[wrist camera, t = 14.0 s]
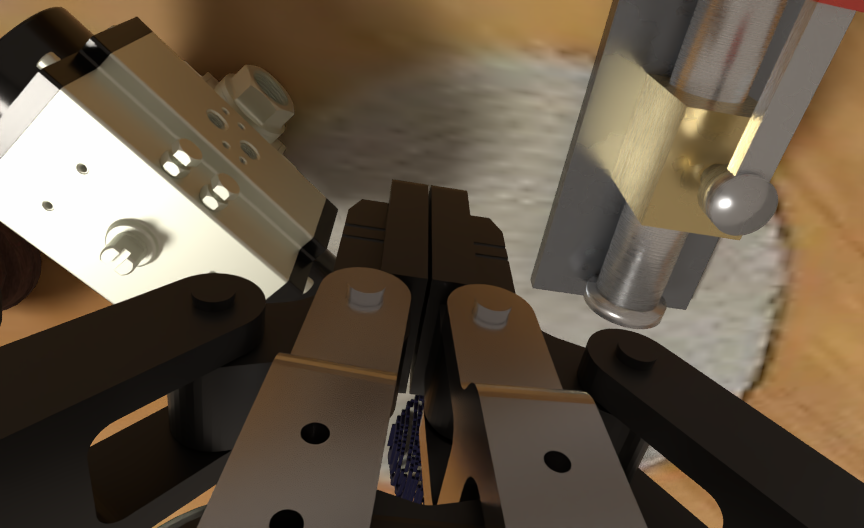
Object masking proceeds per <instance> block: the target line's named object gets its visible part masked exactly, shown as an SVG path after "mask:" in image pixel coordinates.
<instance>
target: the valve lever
mask: <svg viewBox="0 0 864 528" xmlns="http://www.w3.org/2000/svg"><path fill="white" fill-rule="evenodd" d="M856 11H859V12H864V0H805V2H804V4H803V6H802V9H801V11H800V13H799V15H798V17H797V19H796V21H795V24H794V26H793V28H792V30H791V32H790V34H789V36H788V39H787V41H786V43H785V45H784V47H783V49H782V52H781V54H780V56H779V58H778V60H777V62H776V64H775V67H774V69H773V71H772V73H771V75H770V77H769V79H768V82H767V84H766V86H765V88H764V90H763V92H762V94H761V97H760V99H759V101H758V103H757V105H756V107H755V109H754V112H753V114H752V116H751V118H750V120H749V122H748V124H747V127H746V129H745V131H744V133H743V135H742V137H741V139H740V142H739V144H738V146H737V148H736V150H735V152H734V154H733V157H732V159H731V161H730V163H727V164H724V165H721V166H719V167H717V168H715V169H714V170H712V171H711V172H710V173H709V174H708V175H707V176H706V177H705V178H704V179H703V181H702V182H701V184H700V186H699V189H698V194H697V200H698V204H699V206H700V208H701V210H702V211H703V212H704V213H705V214H706V215H707V217H708V218H709V219H710V220H711V221H712V222H713V224H714V225H715V226H716V227H717V228H718V229H719V230H720V231H721V232H723V233H725V234H728V235H733V236H740V235H746V234H749V233H752V232H754V231H756V230H758V229H760V228H761V227H763V226H764V225H765V224H766V223H767V222H768V221H769V220H770V219H771V217H772V216H773V214H774V213H775V211H776V208H777V204H778V195H777V192H776V189H775V188H774V186H773V185H772V184H771V183H770V180H771V178H772V176H773V174H774V172H775V170H776V168H777V166H778V164H779V162H780V160H781V158H782V156H783V154H784V152H785V150H786V148H787V146H788V144H789V142H790V140H791V138H792V136H793V134H794V133H795V131H796V129H797V127H798V125H799V123H800V121H801V119H802V117H803V115H804V113H805V111H806V109H807V107H808V105H809V103H810V101H811V99H812V97H813V95H814V93H815V91H816V89H817V87H818V85H819V83H820V81H821V79H822V78H823V76H824V74H825V72H826V70H827V68H828V66H829V64H830V62H831V60H832V58H833V56H834V54H835V52H836V50H837V48H838V46H839V44H840V42H841V40H842V38H843V36H844V34H845V32H846V30H847V28H848V26H849V24H850V23H851V21H852V19H853V17H854V15H855V13H856Z"/></svg>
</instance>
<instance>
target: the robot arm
mask: <svg viewBox="0 0 864 528" xmlns="http://www.w3.org/2000/svg"><path fill="white" fill-rule="evenodd" d="M409 373H410V392H409V394H415V395H423V396H424V409H423V414H422V419H421V423H420V428H419V441H420V454H421V466H422V479H423V492H424V504H425V505H422V504H418V503H415V502H412V501H409V500H406V499H403V498H400V497H397V496H394V495H391V494H388V493H385V492H382V491H379V490H377V485H378V479H379V474H380V468H381V463H382V457H383V452H384V446H385V441H386V435H387V429H388V424H389V418H390V417H391V416H392V415H393V413H394V410H395V406H396V401H397V395H398V393H406V388H407V383H408V378H409ZM165 395H167V397H168V406H167V407H165V408H163V409H161V410H159V411H157V412H155V413H153V414H151V415H149V416H148V417H146V418H144V419H142V420H140V421H138V422H136V423H134V424H132V425H131V426H129V427H127V428H125V429H123V430H121V431H119V432H117V433H115V434H113V435H112V436H110V437H108V438H106V439H104V440H102V441H100V442H98V443H96V444H95V445H93V446H91V447H90V445H91V443H92V442H93V440H94V439H95V437H96V436H97V435H98V434H99V433H100V432H101V431H102V430H103V429H104V428H105V427H107V426H108V425H109V424H111V423H113V422H114V421H116V420H118V419H120V418H122V417H124V416H126V415H128V414H130V413H132V412H134V411H136V410H137V409H139V408H141V407H143V406H145V405H147V404H149V403H151V402H153V401H155V400H157V399H159V398H161V397H163V396H165ZM649 445H650V446H652V447H653V448H654V449H655V450H657V451H658V452H659V453H660V454H662V455H663V456H664V457H665V458H666V459H668V460H669V461H670V462H671V463H673V464H674V465H675V466H676V467H678V468H679V469H680V470H681V471H682V472H684V473H685V474H686V475H687V476H689V477H690V478H691V479H692V480H694V481H695V482H696V483H697V484H698V485H700V486H701V487H702V488H703V489H705V490H706V491H707V492H708V493H709V494H710V495H711V496H712V497H713V498H714V499H715V501H716V502H717V504H718V505H719V507H720V509H721V512H722V515H723V528H864V483H863V482H861V481H860V480H858V479H857V478H855V477H854V476H853V475H851V474H850V473H848V472H847V471H845V470H844V469H842V468H841V467H839V466H838V465H836V464H835V463H833V462H832V461H831V460H829V459H828V458H826V457H825V456H823V455H822V454H820V453H819V452H817V451H816V450H814V449H813V448H811V447H810V446H809V445H807V444H806V443H804V442H803V441H801V440H800V439H798V438H797V437H795V436H794V435H792V434H791V433H789V432H788V431H787V430H785V429H784V428H782V427H781V426H779V425H778V424H776V423H775V422H773V421H772V420H770V419H769V418H767V417H766V416H765V415H763V414H762V413H760V412H759V411H757V410H756V409H754V408H753V407H751V406H750V405H748V404H747V403H745V402H744V401H743V400H741V399H740V398H738V397H737V396H735V395H734V394H732V393H731V392H729V391H728V390H726V389H725V388H723V387H722V386H721V385H719V384H718V383H716V382H715V381H713V380H712V379H710V378H709V377H707V376H706V375H704V374H703V373H702V372H700V371H699V370H697V369H696V368H694V367H693V366H691V365H690V364H688V363H687V362H685V361H684V360H682V359H681V358H680V357H678V356H677V355H675V354H674V353H672V352H671V351H669V350H668V349H666V348H665V347H663V346H662V345H660V344H659V343H657V342H656V341H654V340H652V339H650V338H648V337H646V336H644V335H641V334H639V333H635V332H632V331H628V330H623V329H604V330H600V331H597V332H596V333H594V334H593V335H592V336H591V337H590V338H589V340H588V342H587V345H586V348H584V347H581V346H579V345H576V344H573V343H570V342H567V341H564V340H561V339H558V338H556V337H553V336H551V335H549V334H547V333H545V332H543V331H542V330H541V329H540V326H539V323H538V321H537V318H536V315H535V313H534V311H533V309H532V307H531V306H530V305H529V304H528V303H527V302H526V301H525V300H524V299H522V298H521V297H520V296H518V295H516V294H515V289H514V284H513V280H512V275H511V270H510V265H509V261H508V256H507V251H506V249H505V242H504V237H503V233H502V231H501V230H500V229H499V228H498V227H497V226H496V225H495V224H494V223H493V222H492V220H491V219H490V218H484V217H478V216H471V215H470V209H469V201H468V193H467V191H465V190H458V189H452V188H446V187H439V186H433V185H431V187H430V190H429V195H428V185H426V184H419V183H413V182H406V181H400V180H393V179H392V185H391V191H390V198H389V203H384V202H378V201H371V200H364V199H362V200H361V201H359V202H358V203H357V204H355V205H354V206H353V207H351V208H350V209H349V210H348V214H347V218H346V222H345V226H344V230H343V234H342V238H341V242H340V246H339V249H338V253H337V257H336V261H335V265H334V269H333V272H332V273H330V274H329V275H327V276H326V277H325V278H324V279H323V280H322V282H321V283H320V286H319V288H318V290H317V293H316V295H314V296H311V297H309V298H306V299H302V300H298V301H292V302H281V303H266V299H265V295H264V293H263V291H262V290H261V288H260V287H259V286H257V285H256V284H255V283H253V282H252V281H250V280H248V279H245V278H243V277H240V276H236V275H231V274H224V273H206V274H198V275H193V276H190V277H187V278H183V279H181V280H178V281H175V282H173V283H170V284H167V285H165V286H162V287H159V288H157V289H154V290H151V291H149V292H146V293H143V294H140V295H138V296H135V297H132V298H130V299H127V300H124V301H122V302H119V303H116V304H114V305H111V306H108V307H106V308H103V309H100V310H98V311H95V312H92V313H89V314H87V315H84V316H81V317H79V318H76V319H73V320H71V321H68V322H65V323H63V324H60V325H57V326H55V327H52V328H49V329H47V330H44V331H41V332H38V333H36V334H33V335H30V336H28V337H25V338H22V339H20V340H17V341H14V342H12V343H9V344H6V345H4V346H1V347H0V528H152V527H153V526H155V525H156V524H158V523H159V522H161V521H162V520H164V519H165V518H167V517H168V516H170V515H171V514H173V513H174V512H176V511H177V510H179V509H180V508H182V507H183V506H185V505H186V504H188V503H189V502H191V501H192V500H193V499H195V498H196V497H198V496H199V495H201V494H202V493H204V492H205V491H207V490H208V489H210V488H211V487H213V486H214V485H216V484H217V485H216V487H215V489H214V491H213V493H212V496H211V498H210V500H209V502H208V504H207V505H204V506H201V507H198V508H195V509H193V510H191V511H189V512H186V513H184V514H182V515H180V516H177V517H175V518H173V519H172V520H170V521H168V522H166V523H164V524H163V525H161V526H159V527H157V528H708V527H707V526H706V525H705V524H704V523H703V522H701V521H700V520H699V519H698V518H697V517H695V516H694V515H693V514H692V513H691V512H690V511H688V510H687V509H686V508H685V507H684V506H683V505H681V504H680V503H679V502H678V501H677V500H675V499H674V498H673V497H672V496H671V495H670V494H668V493H667V492H666V491H665V490H664V489H663V488H661V487H660V486H659V485H658V484H657V483H655V482H654V481H653V480H652V479H651V478H650V477H648V476H647V475H646V474H645V473H644V472H643V471H641V470H640V469H639V468H638V467H639V465H640V462H641V460H642V458H643V456H644V454H645V452H646V450H647V448H648V446H649Z"/></svg>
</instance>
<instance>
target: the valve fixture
mask: <svg viewBox="0 0 864 528" xmlns="http://www.w3.org/2000/svg"><path fill="white" fill-rule="evenodd" d="M804 2H805V0H613V2H612V5H611V9H610V12H609V16H608V19H607V22H606V26H605V29H604V33H603V36H602V39H601V43H600V46H599V49H598V53H597V56H596V60H595V63H594V66H593V70H592V73H591V77H590V80H589V83H588V87H587V90H586V93H585V97H584V100H583V104H582V107H581V110H580V114H579V117H578V121H577V124H576V127H575V131H574V134H573V137H572V141H571V144H570V148H569V151H568V154H567V158H566V161H565V165H564V168H563V171H562V175H561V178H560V181H559V185H558V188H557V192H556V195H555V198H554V202H553V205H552V209H551V212H550V215H549V219H548V222H547V225H546V229H545V232H544V236H543V239H542V242H541V246H540V249H539V253H538V256H537V259H536V263H535V266H534V269H533V273H532V276H531V283H532V287H533V288H536V289H543V290H550V291H557V292H564V293H571V294H578V295H584V300H585V302H586V303H587V305H588V306H589V307H590V308H591V309H592V310H593V311H594V312H595V313H596V314H598V315H599V316H601V317H602V318H604V319H606V320H608V321H610V322H612V323H615V324H617V325H620V326H624V327H628V328H633V329H648V328H652V327H655V326H657V325H658V324H659V323H660V321H661V319H662V317H663V315H664V313H665V310H666V307H669V308H676V309H683V310H686V309H687V306H688V304H689V302H690V300H691V298H692V296H693V293H694V291H695V289H696V287H697V285H698V283H699V280H700V278H701V276H702V274H703V272H704V269H705V267H706V265H707V263H708V261H709V259H710V256H711V254H712V252H713V250H714V248H715V246H716V243H717V241H718V239H719V237H722V238H728V239H735V240H740V239H741V237H742V235H740V236H733V235H728V234H725V233H723V232H721V231H720V230H719V229H718V228H717V227H716V226H715V225H714V224H713V222H712V221H711V220H710V219H709V218H708V217H707V215H706V214H705V213H704V212H703V211H702V210H701V208H700V206H699V204H698V200H697V194H698V189H699V186H700V184H701V182H702V181H703V179H704V178H705V177H706V176H707V175H708V174H709V173H710V172H711V171H712V170H714V169H715V168H717V167H719V166H721V165H724V164H727V163H730V161H731V159H732V157H733V154H734V152H735V150H736V148H737V146H738V144H739V142H740V139H741V137H742V135H743V133H744V131H745V129H746V127H747V124H748V122H749V120H750V118H751V116H752V114H753V112H754V109H755V107H756V105H757V103H758V101H759V99H760V97H761V94H762V92H763V90H764V88H765V86H766V84H767V82H768V79H769V77H770V75H771V73H772V71H773V69H774V67H775V64H776V62H777V60H778V58H779V56H780V54H781V52H782V49H783V47H784V45H785V43H786V41H787V39H788V36H789V34H790V32H791V30H792V28H793V26H794V24H795V21H796V19H797V17H798V15H799V13H800V11H801V9H802V6H803V4H804Z"/></svg>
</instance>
